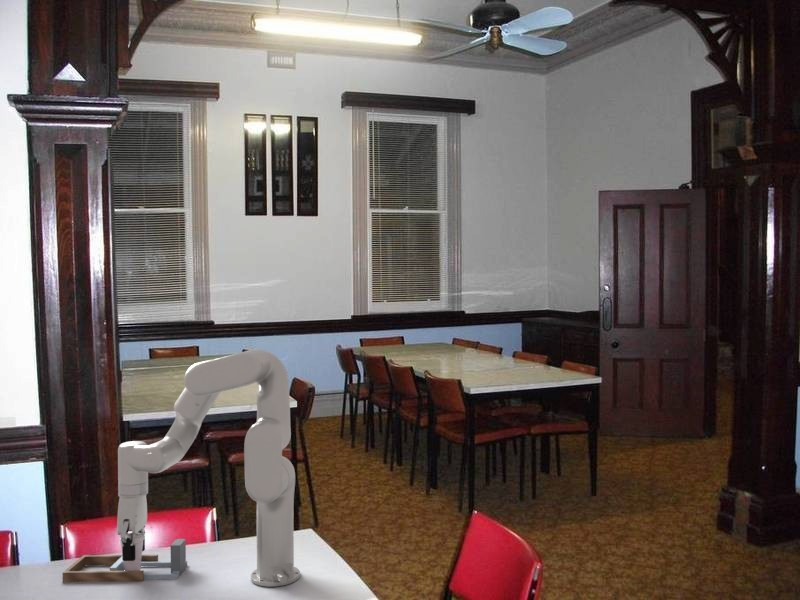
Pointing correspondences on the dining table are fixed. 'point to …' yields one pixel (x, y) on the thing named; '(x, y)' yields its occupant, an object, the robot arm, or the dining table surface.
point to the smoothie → (138, 544)
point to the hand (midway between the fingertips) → (133, 555)
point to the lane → (103, 576)
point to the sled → (163, 562)
